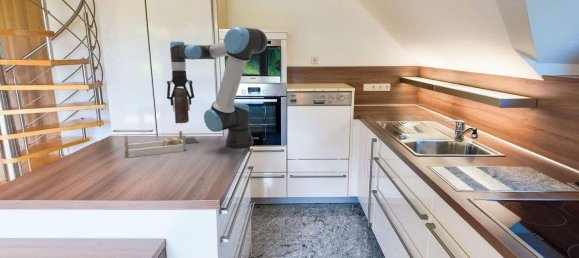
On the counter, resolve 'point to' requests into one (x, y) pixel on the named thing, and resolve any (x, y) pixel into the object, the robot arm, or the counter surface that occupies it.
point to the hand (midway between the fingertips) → (181, 110)
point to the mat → (190, 140)
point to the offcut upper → (171, 141)
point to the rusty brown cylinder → (181, 106)
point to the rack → (153, 147)
